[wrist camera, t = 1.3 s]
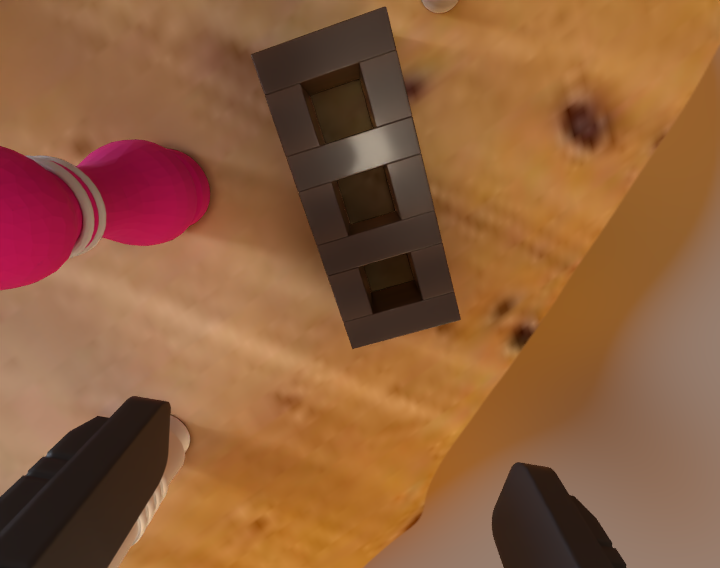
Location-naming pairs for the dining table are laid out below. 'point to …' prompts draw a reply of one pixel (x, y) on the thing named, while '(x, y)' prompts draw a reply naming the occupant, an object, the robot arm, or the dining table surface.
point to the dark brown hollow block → (355, 155)
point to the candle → (176, 457)
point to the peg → (439, 5)
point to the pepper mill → (92, 204)
